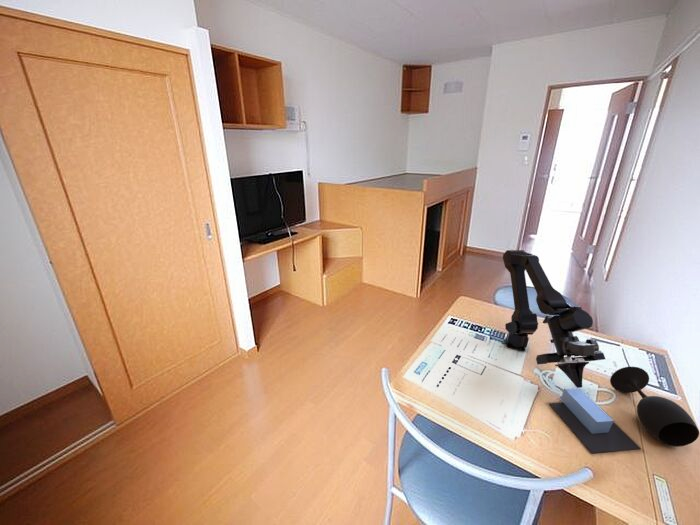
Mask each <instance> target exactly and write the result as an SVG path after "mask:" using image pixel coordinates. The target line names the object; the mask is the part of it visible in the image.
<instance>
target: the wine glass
mask: <svg viewBox="0 0 700 525" xmlns="http://www.w3.org/2000/svg"><path fill="white" fill-rule="evenodd" d="M609 381H610V382H609V383H610V385H611V387H612V388H613V389H614V390H615V391H618V392H620V393H624V394H632V393H636V392H637V393H638V395H639V396H640V397H641V399H640V400H639V401H638V404H637V406H636V414H637V417H638V420H639V421H640V423H641V425H642V426H643V427H644V429H646V431H647V432H649V433H650V435H652V436H653V437H654V438H655V439H656V440H658V441H659V442H661V443H662V444H664V445H666V446H669V447H677V448H679V447H685V446H688V445H690V444H692V443H695V441H697V439H699V437H700V430H699V428H698V426H697V425H696V422H695V421H694V420H693V418H692V417H691V415H690V414H689V413H688V412H687V411H686V410H685V409H684V408H683V407H681V406H680V404H678V403H676V402H675V401H673V400H671V399H669V398H666V397H662V396H658V395H646V394H645V392H643V391H642V390H644V389H645V388H646V387H647V385H648V384H649V382H650V375H649V374H648V372H647V371H646V370H645V369H643V368H641V367H638V366H625V367H621V368H619V369H617V370H615V371H614V372H613V373H612V374H611V376H610V379H609Z"/></svg>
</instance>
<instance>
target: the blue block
mask: <svg viewBox="0 0 700 525" xmlns="http://www.w3.org/2000/svg"><path fill="white" fill-rule="evenodd" d="M560 401H561V403H562V402H563V403H564V404H565V405H566V406H567V407H568V408H569V410H570V411H571V412H572V413H573V414H574V415H575V416H576V417H577V418H578V419H579V420H580V421H581V423H582V424H583V425H584V426H585V427H586V428H587V429H588V430H589V431H590V432H591V433H592V434H595V433H607V432H609V430H610V428H611V426H612V423H613V422H614V419H613V418H611V417H610V416H609V414H607V413H606V412H605V411H604V410H603V409H602V408H601V407H600V406H599V405H598V404H597V403H596V402H595V401H594V400H593V399H592V398H591V397H589V395H587V394H586V393H585V392H584V391H583V390H582V389H581V388H577V387H569V388H563V391H562V394H561V397H560Z"/></svg>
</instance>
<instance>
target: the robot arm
mask: <svg viewBox="0 0 700 525" xmlns="http://www.w3.org/2000/svg"><path fill="white" fill-rule="evenodd" d="M502 261H503V264H504V267H505V269H506V270H507V271H508V272H509V276H510V282H511V290H512V297H513V305H514V311H513V312H512V315H511V317H510V320H511V321H510V322H507V323H505V330H506V331H507V333H508V334H507V337H506V348H510V349H514V350H517V351H521V352H526V348H527V347H528V345H529V340H530V336H529V335H531V336H532V335H534V334H535V333H536V332H537V330H538V329H539V322H538V315H537V313H533V311H532V310H531V309H530V308H531V307H530V301H529V294H528V286H527V280H526V274H527V276H528V278H529V279H530V282H531V284H532V286H533V288H534V290H535V292H536V298H535V301H536V304H537V306H538V307H537V308H538V310H539V312H540V313H541V314H544V315H545V317H544V319H543V320H542V324H545V325H546V324H547V326H548V329H549V333H550V336H551V338H552V339H549V341H550V343H551V344H554V347H555V351H556V352H549V353H548V352H547V353H541V354H537V355H536V357H535V361H536V365H546V364H553V363H557V364H554V366H555V367H557V368H559V369H560V370H561V371H562V372H563V373H564V374H565V375H566V376H567V378H568V379H569V380H570V381H571V383H572V384H573V385H574V386H575V388H580V389H581V388H583V377H584V376H583V374H584V369H585V367H586V366H587V365H588V364H590V362H595V361H603V360H606V356H605V354H604V352H603V351H602V350H600V345H599V344H598V341H597V340H596V339H593V338H587V339H586V340H585V341H582V340H581V341H580V340H579V337H578V336H577V335H574V333H575V332H579V331H583V330H587V329H590V328H591V327H592V326H593V324H594V320H593V317H592V316H591V315H590V313H589V312H588V311H586V310H584V309H583V308H582V306H581V305H575V306H572V305H571V304H569V303H568V302H567V300H566V299H565V298H564V296H563V295H562V294H561V292H560V291H558V290H556V289H555V288H554V287H553V286H552V283H551V282H550V279H549V278H548V276H547V275H546V272H545V270H544V269H543V267H542V265H541V263H540V258H539V256H538V255H536V254H533V253H530V252H527V251H526V250H524V249H511V250H510V249H509V250H506V251H505V252H504V253H503V254H502ZM525 272H526V273H525Z"/></svg>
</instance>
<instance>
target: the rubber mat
mask: <svg viewBox="0 0 700 525" xmlns="http://www.w3.org/2000/svg"><path fill="white" fill-rule="evenodd" d="M548 405H549V406H550V408H552V409H553V411H554V412H555V414H556V415H557V416H558V417H559V418H560V419H561V421H562V422H564V424H565V425H566V426H567V428H569V430H570V431H571V432H572V433H573V434H574V436H576V438H577V439H578V440H579V441H580V442H581V444H583V446H584V447H585V448H586V449H587V450H588V451H589V453H590V454H603V453H614V452H615V453H616V452H625V451H636V450H637V451H638V450H641V447H640V446H639V445H638V444H637V443H636V442H635V441H634V440H633V438H631V437H630V436H629V435H628V434H626V432H625V431H623V430H622V429H621V428H620V427H619V426H618V424H616V423H615V422H614V421H613V423H612V426H611V428H610V430H609V432H607V433H595V434H592V433H591V432H590V431H589V430H588V429H587V428H586V427H585V426H584V425H583V424H582V423H581V421H580V420H579V419H578V418H577V417H576V416H575V415H574V414H573V413H572V412H571V411H570V410H569V408H568V407H567V406H566V405H565V404H564V403H563V402H562V401H561V402H549V403H548Z"/></svg>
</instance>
